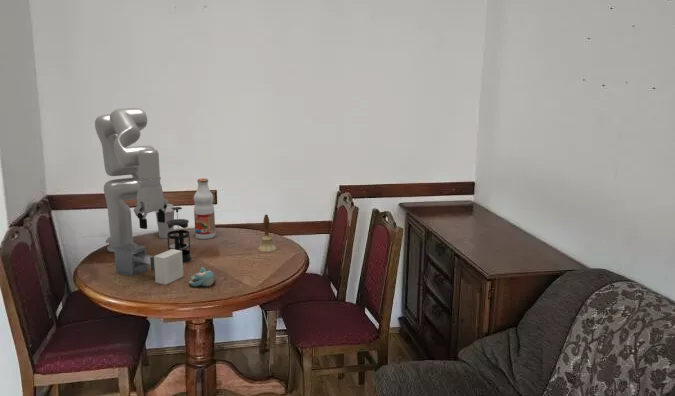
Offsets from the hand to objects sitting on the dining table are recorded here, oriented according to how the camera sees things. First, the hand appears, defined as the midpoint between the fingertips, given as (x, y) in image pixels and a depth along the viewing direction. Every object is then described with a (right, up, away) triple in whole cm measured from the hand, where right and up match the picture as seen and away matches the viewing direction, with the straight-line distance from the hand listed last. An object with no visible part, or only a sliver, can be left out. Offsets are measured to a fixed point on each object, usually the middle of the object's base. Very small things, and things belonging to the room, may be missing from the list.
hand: (152, 225), depth 234 cm
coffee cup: (-11, -8, +57) cm, 59 cm away
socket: (+6, -21, +1) cm, 22 cm away
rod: (-1, -17, +4) cm, 17 cm away
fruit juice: (+8, -8, +57) cm, 58 cm away
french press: (+4, -16, +24) cm, 29 cm away
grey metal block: (-11, -19, +10) cm, 24 cm away
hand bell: (+40, -13, +38) cm, 57 cm away
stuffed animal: (+20, -22, -2) cm, 30 cm away
